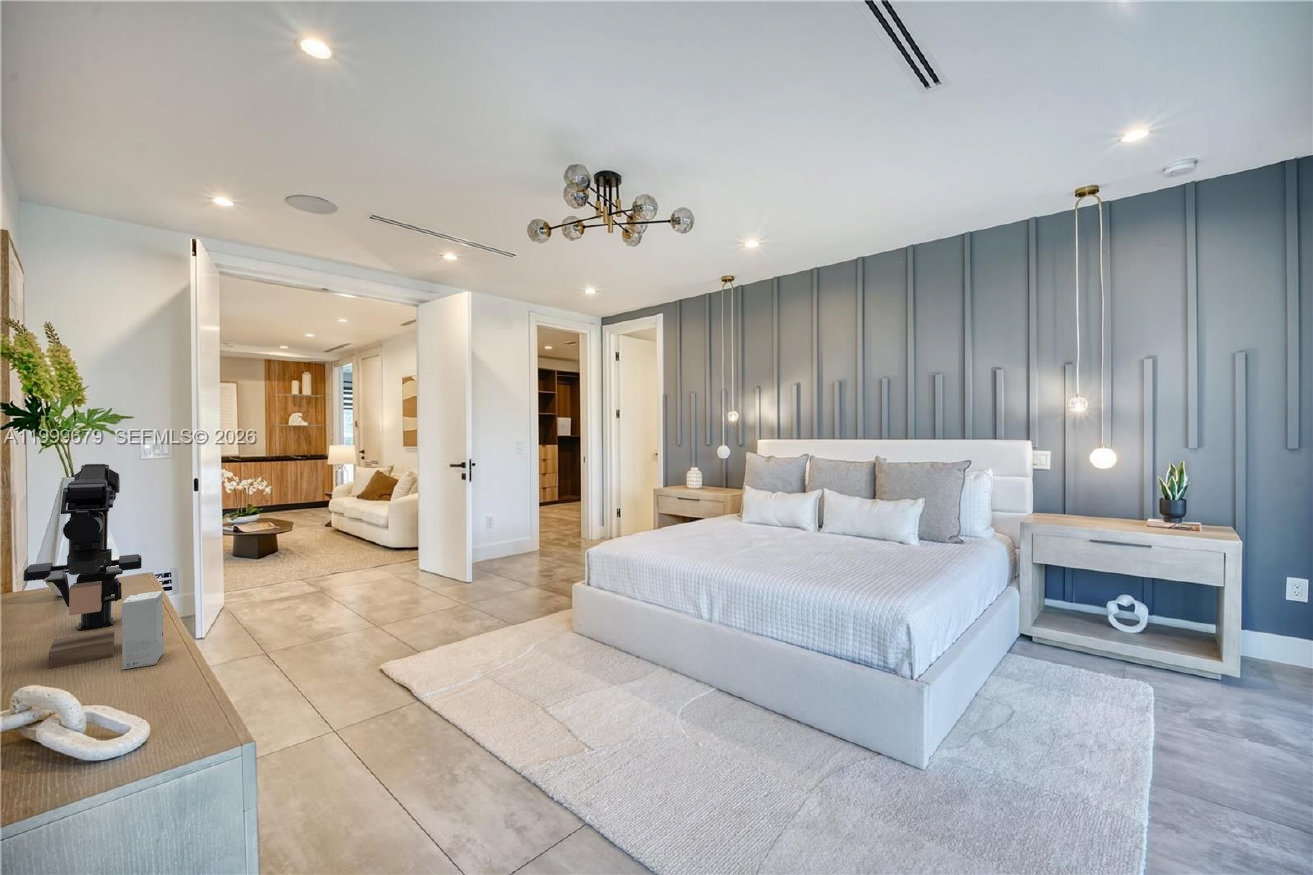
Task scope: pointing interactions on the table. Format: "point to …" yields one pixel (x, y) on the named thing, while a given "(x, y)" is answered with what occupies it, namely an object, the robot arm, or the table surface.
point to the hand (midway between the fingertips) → (85, 604)
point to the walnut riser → (81, 648)
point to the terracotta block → (85, 598)
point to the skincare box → (142, 630)
